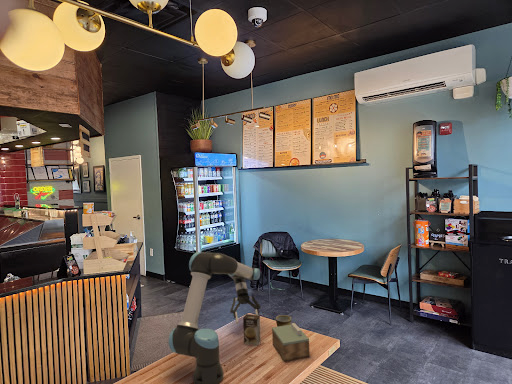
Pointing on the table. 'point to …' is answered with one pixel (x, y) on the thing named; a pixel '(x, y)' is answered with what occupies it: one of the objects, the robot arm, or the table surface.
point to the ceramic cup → (283, 320)
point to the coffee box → (251, 329)
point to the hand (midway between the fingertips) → (247, 321)
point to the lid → (290, 334)
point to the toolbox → (291, 349)
